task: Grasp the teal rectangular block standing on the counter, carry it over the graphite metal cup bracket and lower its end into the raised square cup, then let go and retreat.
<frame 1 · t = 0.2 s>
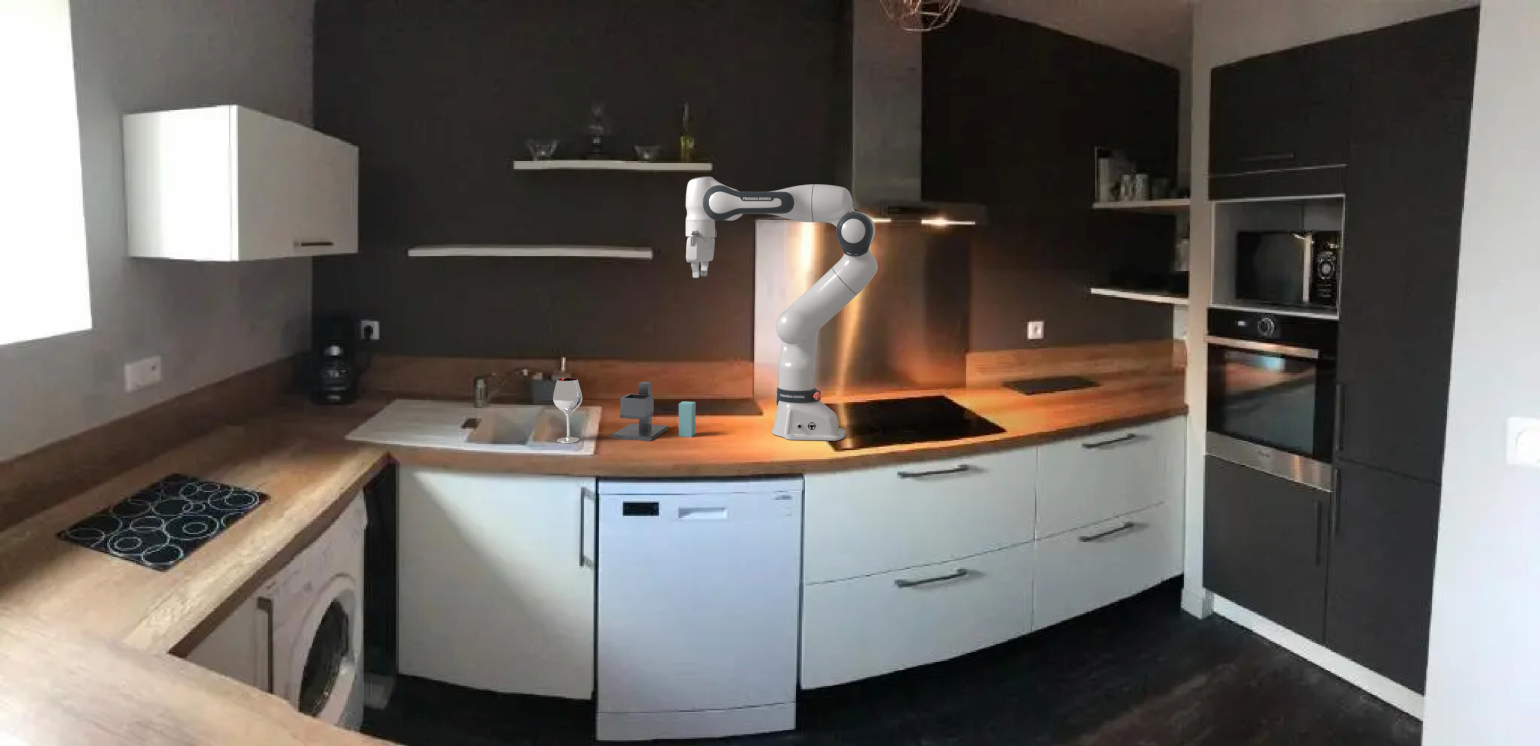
hand: (699, 276, 264), 47 cm above the countertop, fingers open, 8 cm apart
wineglass: (568, 441, 250), on the countertop
teal rectangular block: (687, 435, 260), on the countertop
cup bracket: (637, 435, 258), on the countertop
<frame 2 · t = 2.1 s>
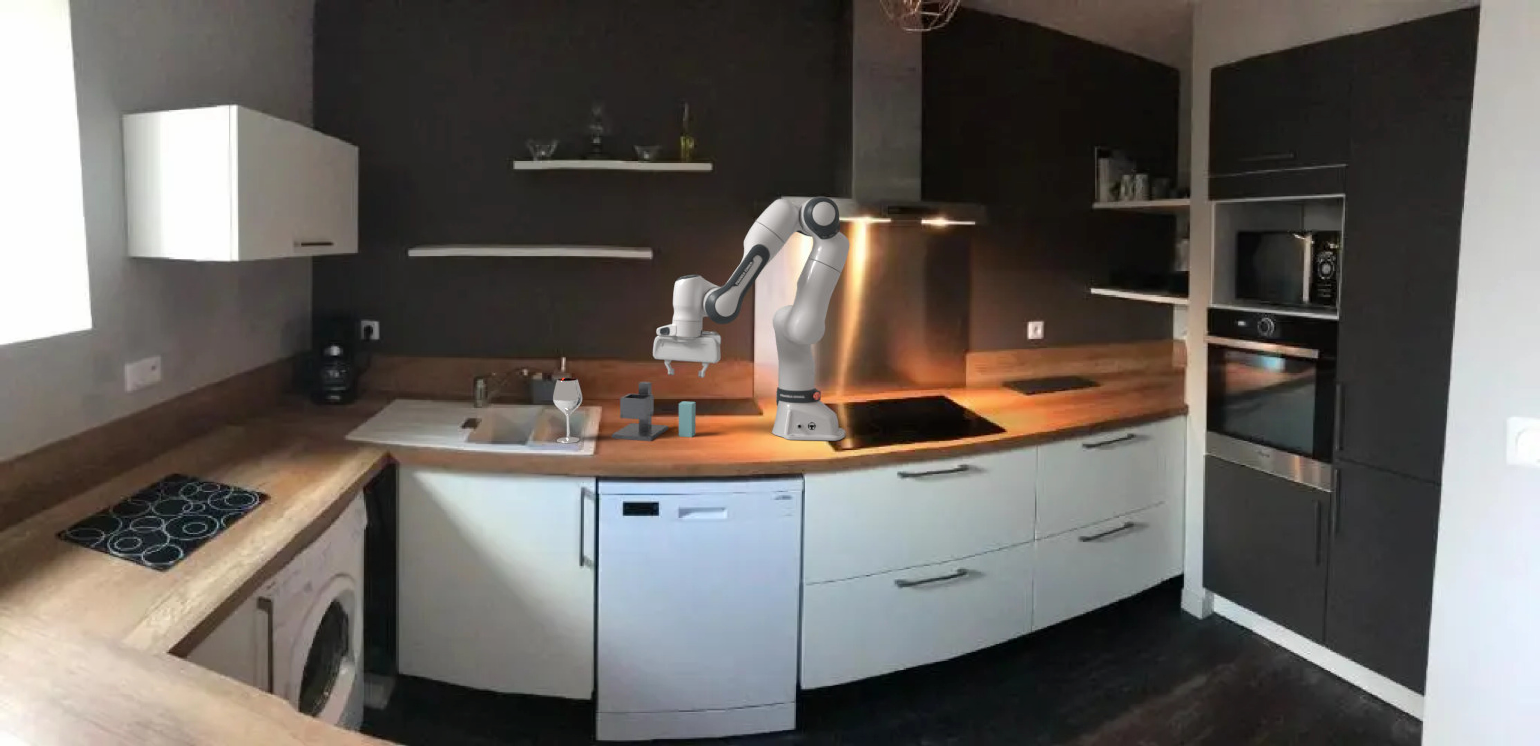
hand: (686, 376, 257), 18 cm above the countertop, fingers open, 8 cm apart
nothing on the countertop moved.
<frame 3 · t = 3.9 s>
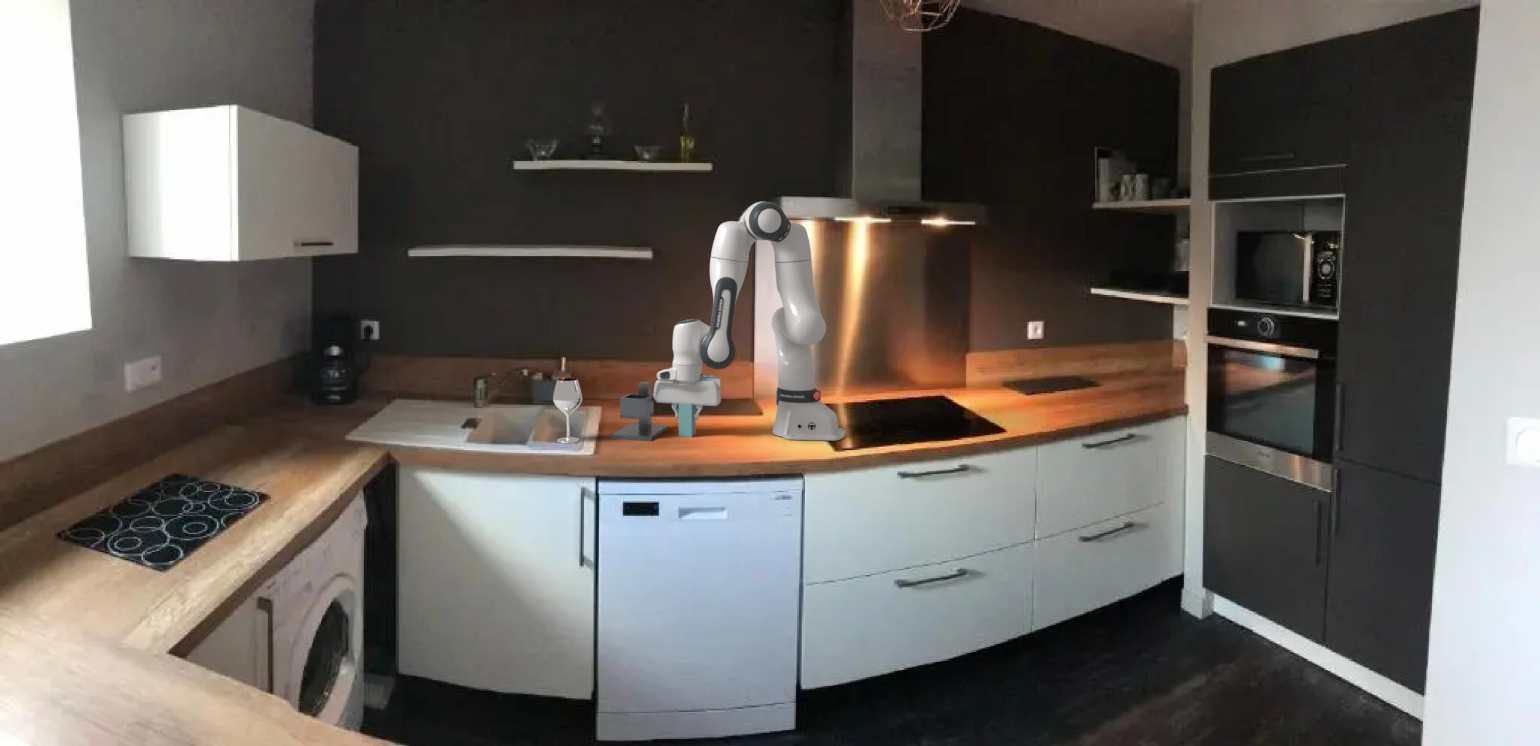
hand: (687, 418, 259), 5 cm above the countertop, fingers closed on teal rectangular block, 4 cm apart
teal rectangular block: (687, 435, 260), on the countertop, touching gripper
everything else where it was.
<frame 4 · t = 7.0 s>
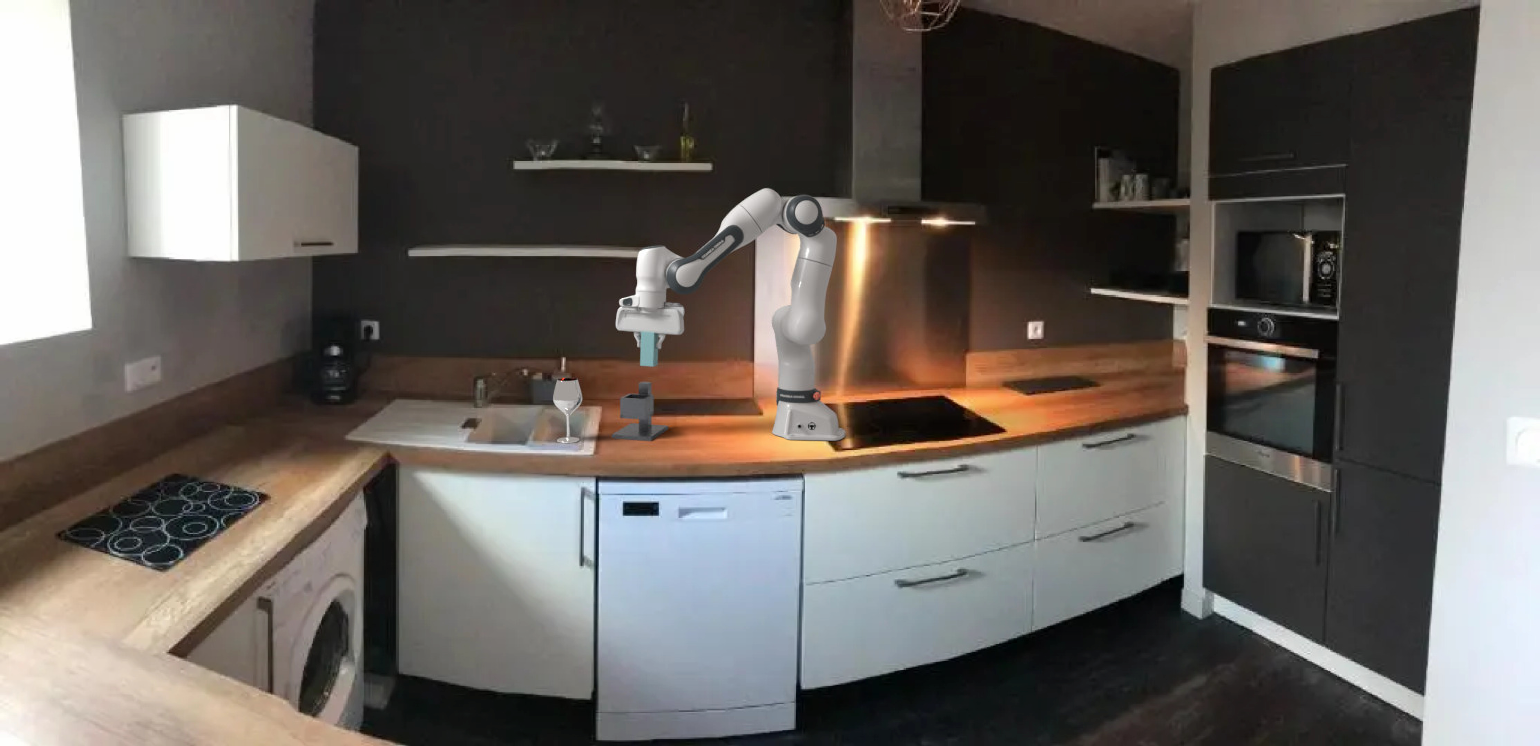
hand: (649, 348, 254), 27 cm above the countertop, fingers closed on teal rectangular block, 4 cm apart
teal rectangular block: (648, 365, 255), point 21 cm above the countertop, touching gripper
everything else where it was.
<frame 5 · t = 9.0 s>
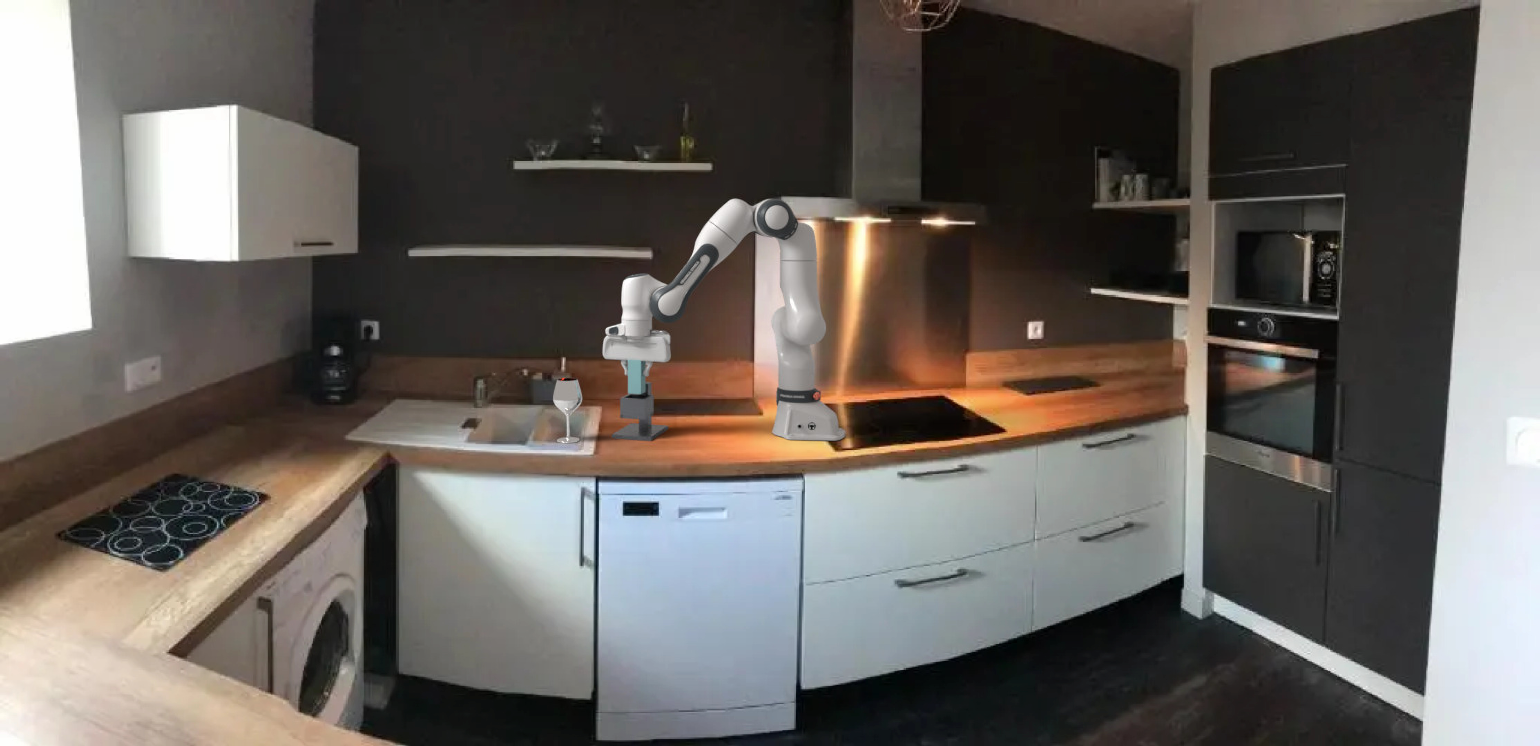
hand: (636, 375, 255), 18 cm above the countertop, fingers closed on teal rectangular block, 4 cm apart
teal rectangular block: (636, 392, 256), point 13 cm above the countertop, touching gripper
everything else where it was.
when the fingers open (14 cm above the countertop, at t = 10.5 s): teal rectangular block drops 1 cm, resting on cup bracket.
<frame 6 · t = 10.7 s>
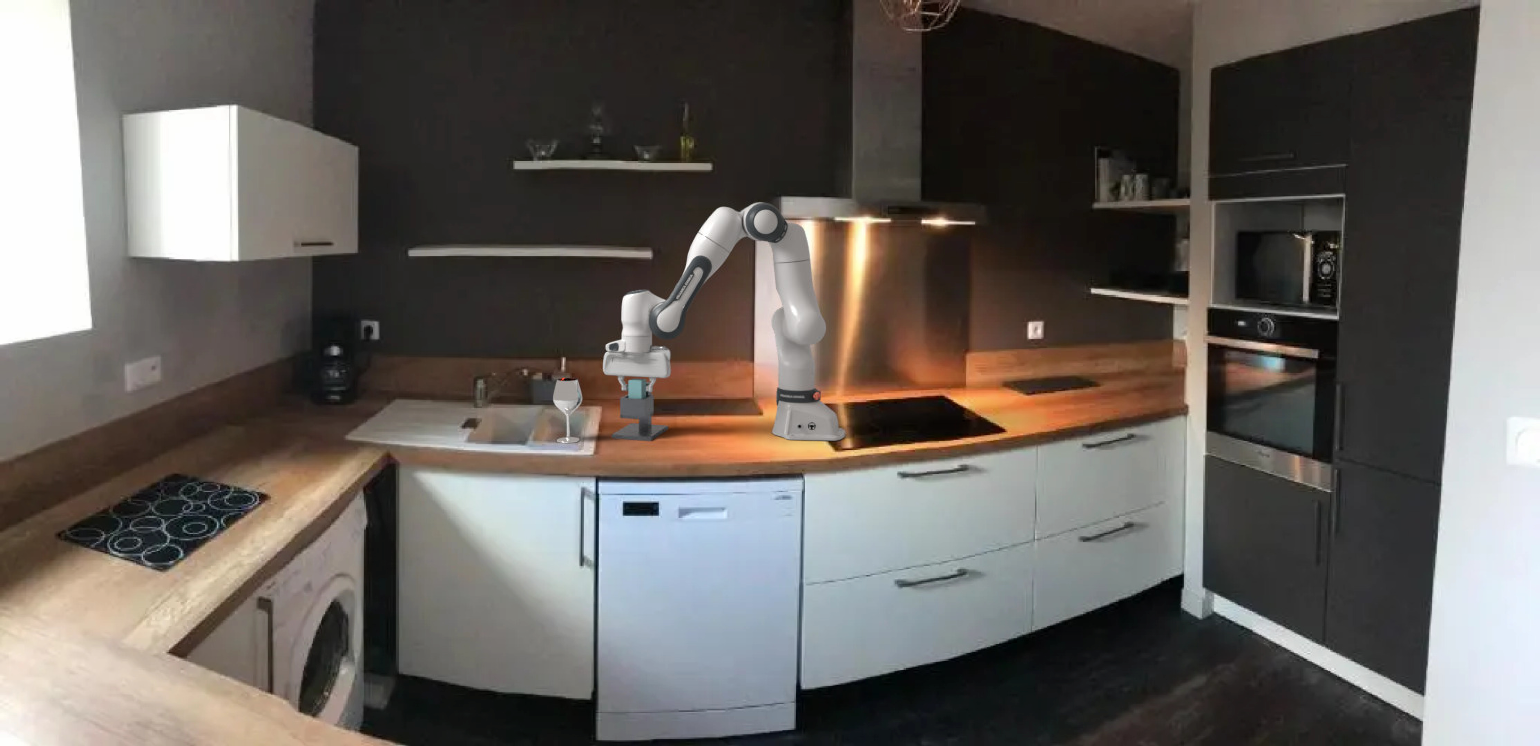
hand: (637, 391, 256), 14 cm above the countertop, fingers open, 6 cm apart
teal rectangular block: (637, 412, 257), point 7 cm above the countertop, touching cup bracket
everything else where it was.
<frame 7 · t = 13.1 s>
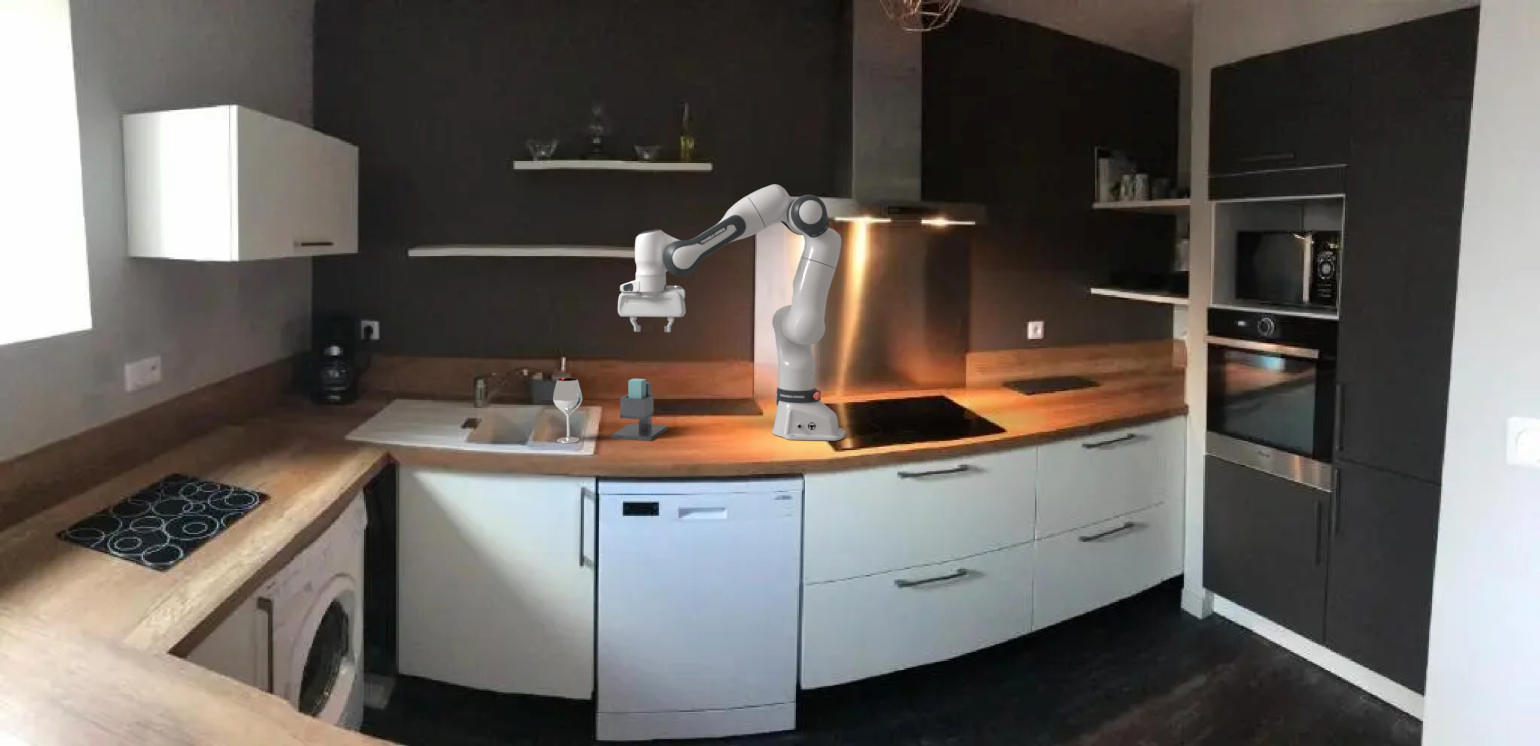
hand: (652, 331, 256), 31 cm above the countertop, fingers open, 8 cm apart
nothing on the countertop moved.
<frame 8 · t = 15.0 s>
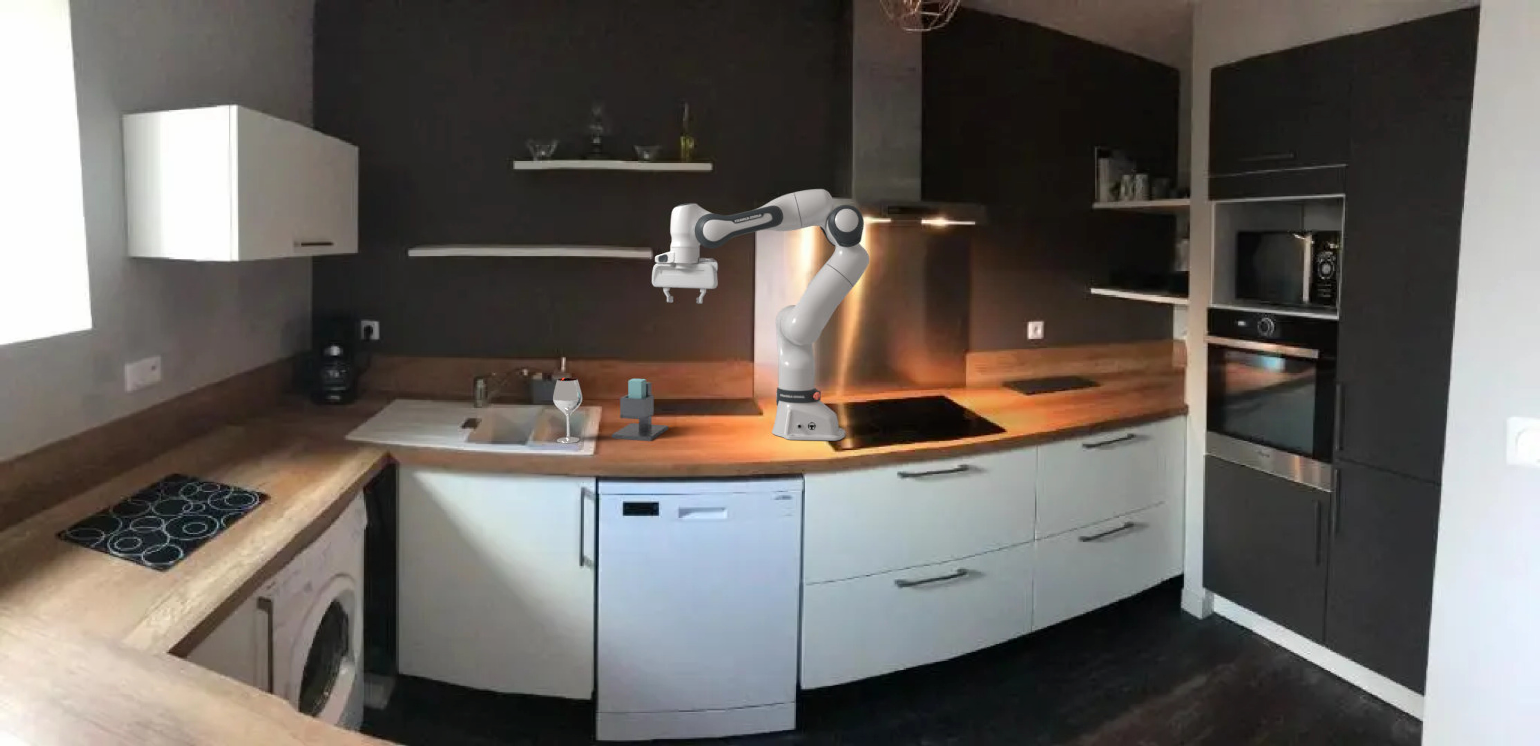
hand: (684, 302, 264), 39 cm above the countertop, fingers open, 8 cm apart
nothing on the countertop moved.
at the end: teal rectangular block 0.1 cm off-centre on the cup bracket, point 7.0 cm above the cup bracket's base; teal rectangular block tilted 0°; the gripper is holding nothing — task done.
